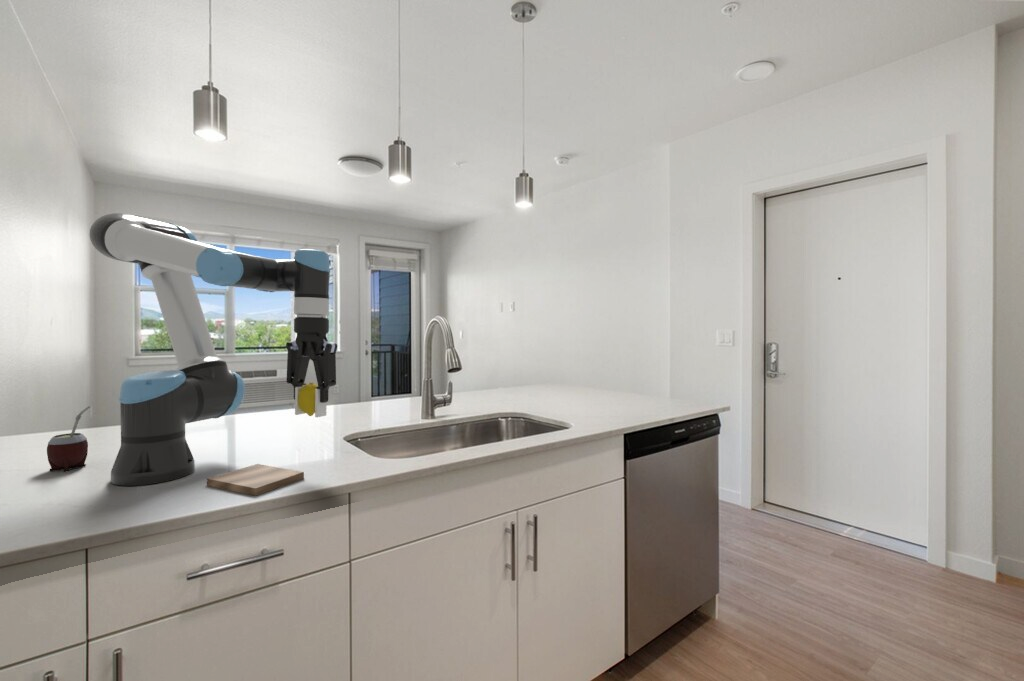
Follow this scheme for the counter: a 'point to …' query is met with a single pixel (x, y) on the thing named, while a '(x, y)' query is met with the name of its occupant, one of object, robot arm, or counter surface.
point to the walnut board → (255, 479)
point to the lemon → (307, 399)
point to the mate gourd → (68, 449)
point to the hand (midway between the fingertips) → (310, 414)
